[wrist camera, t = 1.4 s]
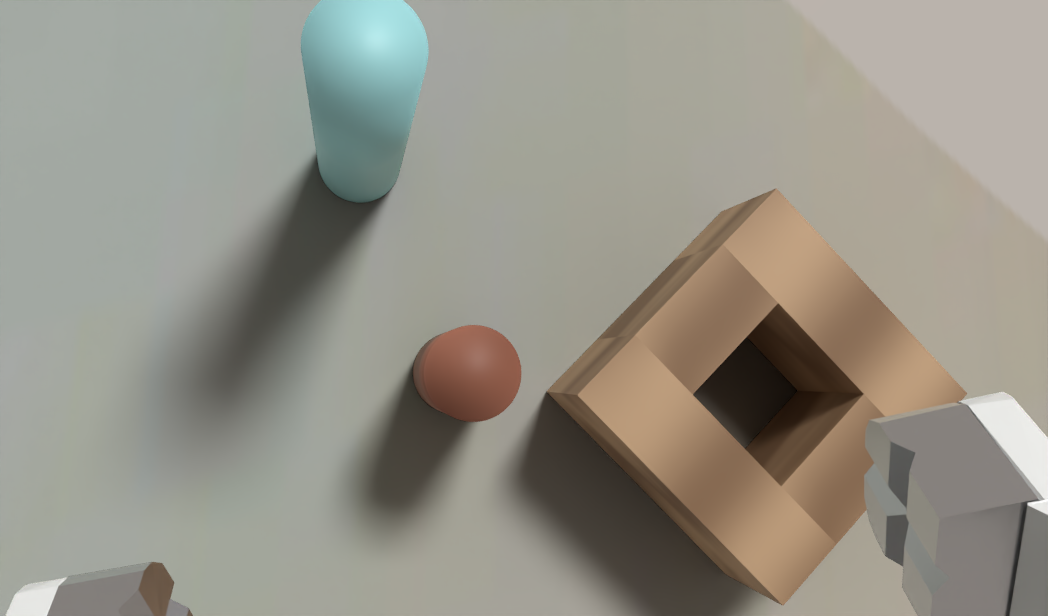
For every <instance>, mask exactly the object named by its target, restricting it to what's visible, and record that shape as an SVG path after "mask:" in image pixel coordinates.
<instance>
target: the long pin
mask: <svg viewBox="0 0 1048 616" xmlns="http://www.w3.org/2000/svg"><path fill="white" fill-rule="evenodd" d="M301 53H302V60H303V66H304V73H305V80H306V86H307V93H308V100H309V106H310V113H311V120H312V126H313V133H314V139H315V146H316V153H317V159H318V166H319V171H320V174H321V177H322V179H323V181H324V183H325V184H326V186H327V187H328V188H329V189H330V190H331V191H332V192H333V193H334V194H336V195H337V196H338V197H340V198H342V199H345V200H347V201H351V202H358V203H362V202H370V201H373V200H376V199H378V198H380V197H382V196H383V195H385V194H386V193H387V192H388V191H389V190H390V189H391V188H392V187H393V185H394V184H395V182H396V180H397V178H398V175H399V172H400V168H401V164H402V160H403V156H404V152H405V148H406V144H407V140H408V136H409V132H410V129H411V125H412V121H413V117H414V113H415V109H416V105H417V101H418V97H419V93H420V89H421V86H422V82H423V78H424V74H425V70H426V66H427V61H428V41H427V36H426V33H425V30H424V27H423V25H422V23H421V21H420V19H419V18H418V16H417V15H416V13H415V12H414V11H413V10H412V8H411V7H410V6H409V5H408V4H407V3H405V2H404V1H403V0H321V1H320V2H319V3H318V4H317V5H316V6H315V7H314V9H313V10H312V11H311V13H310V14H309V16H308V18H307V20H306V22H305V25H304V28H303V32H302V37H301Z"/></svg>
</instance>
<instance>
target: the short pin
mask: <svg viewBox="0 0 1048 616" xmlns="http://www.w3.org/2000/svg"><path fill="white" fill-rule="evenodd" d="M413 380H414V384H415V387H416V390H417V392H418V394H419V395H420V397H421V398H422V399H423V400H424V401H425V402H426V403H427V404H428V405H429V406H431V407H432V408H434V409H436V410H438V411H441V412H443V413H445V414H447V415H449V416H451V417H454V418H456V419H459V420H463V421H469V422H478V421H484V420H488V419H490V418H493V417H495V416H497V415H498V414H500V413H501V412H503V411H504V410H505V409H506V408H507V407H508V406H509V405H510V404H511V403H512V401H513V400H514V398H515V396H516V394H517V392H518V389H519V386H520V382H521V365H520V360H519V357H518V355H517V352H516V350H515V349H514V347H513V346H512V344H511V343H510V342H509V341H508V339H506V338H505V337H504V336H503V335H502V334H500V333H499V332H497V331H495V330H493V329H491V328H488V327H484V326H478V325H469V326H463V327H459V328H456V329H454V330H451V331H448V332H446V333H443V334H441V335H438V336H436V337H434V338H432V339H431V340H429V341H428V342H427V343H426V344H425V345H424V346H423V347H422V348H421V350H420V351H419V352H418V354H417V356H416V359H415V362H414V366H413Z"/></svg>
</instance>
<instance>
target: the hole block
mask: <svg viewBox="0 0 1048 616" xmlns="http://www.w3.org/2000/svg"><path fill="white" fill-rule="evenodd" d="M746 337H747V338H748V339H749V340H750V341H751V342H752V343H753V344H754V345H755V346H756V347H757V348H758V349H759V350H760V351H761V352H762V354H763V355H764V356H765V357H766V358H767V359H768V360H769V361H770V362H771V363H772V364H773V365H774V366H775V367H776V368H777V369H778V370H779V371H780V372H781V374H782V375H783V376H784V377H785V378H786V379H787V380H788V381H789V382H790V383H791V384H792V385H793V386H794V387H795V388H796V389H797V390H798V391H797V392H796V393H795V394H794V396H793V397H792V398H791V399H790V400H789V401H788V402H787V403H786V404H785V405H784V407H783V408H782V409H781V410H780V411H779V412H778V413H777V414H776V415H775V416H774V417H773V419H772V420H771V421H770V422H769V423H768V424H767V425H766V426H765V427H764V428H763V430H762V431H761V432H760V433H759V434H758V435H757V436H756V437H755V438H754V439H753V441H752V442H751V443H750V444H749V445H748V446H747V447H746V448H744V447H743V446H742V445H741V444H740V443H739V442H738V441H737V440H736V439H735V438H734V437H733V436H732V435H731V434H730V433H729V432H728V431H727V430H726V429H725V428H724V427H723V426H722V425H721V424H720V423H719V421H718V420H717V419H716V418H715V417H714V416H713V415H712V414H711V413H710V412H709V411H708V410H707V409H706V408H705V407H704V406H703V405H702V404H701V403H700V402H699V401H698V400H697V399H696V398H695V397H694V396H693V394H694V393H695V391H696V390H697V389H698V388H699V387H700V386H701V385H702V384H703V383H704V382H705V381H706V380H707V379H708V378H709V376H710V375H711V374H712V373H713V372H714V371H715V370H716V369H717V368H718V367H719V366H720V365H721V364H722V363H723V362H724V360H725V359H726V358H727V357H728V356H729V355H730V354H731V353H732V352H733V351H734V350H735V349H736V348H737V347H738V345H739V344H740V343H741V342H742V341H743V340H744V339H745V338H746ZM547 392H548V394H549V395H550V396H551V397H552V398H553V399H554V400H555V401H556V402H557V403H558V404H559V405H560V406H561V407H562V408H563V409H564V410H565V411H566V412H567V413H568V414H569V415H570V416H571V417H572V418H573V419H574V420H575V421H576V422H577V423H578V424H579V425H580V426H581V427H582V428H583V429H584V430H585V431H586V432H587V433H588V434H589V435H590V436H591V437H592V438H593V439H594V440H595V441H596V443H597V444H598V445H599V446H600V447H601V448H602V449H603V450H604V451H605V452H606V453H607V454H608V455H609V456H610V457H611V458H612V459H613V460H614V461H615V462H616V463H617V464H618V465H619V466H620V467H621V468H622V469H623V470H624V471H625V472H626V473H627V474H628V475H629V476H630V477H631V478H632V479H633V480H634V481H635V482H636V483H637V484H638V485H639V486H640V487H641V488H642V489H643V490H644V491H645V493H646V494H647V495H648V496H649V497H650V498H651V499H652V500H653V501H654V502H655V503H656V504H657V505H658V506H659V507H660V508H661V509H662V510H663V511H664V512H665V513H666V514H667V515H668V516H669V517H670V518H671V519H672V520H673V521H674V522H675V523H676V524H677V525H678V526H679V527H680V528H681V529H682V530H683V531H684V532H685V533H686V534H687V535H688V536H689V537H690V538H691V539H692V540H693V542H694V543H695V544H696V545H697V546H698V547H699V548H700V549H701V550H702V551H703V552H704V553H705V554H706V555H707V556H708V557H709V558H710V559H711V560H712V561H713V562H714V563H715V564H716V565H717V566H718V567H719V568H720V569H721V570H722V571H723V572H724V573H725V574H726V575H728V576H729V577H731V578H733V579H735V580H737V581H739V582H740V583H742V584H744V585H746V586H748V587H750V588H751V589H753V590H755V591H757V592H759V593H761V594H762V595H764V596H766V597H768V598H770V599H772V600H773V601H775V602H777V603H779V604H781V605H784V604H785V603H786V602H787V601H788V599H789V598H790V597H791V596H792V595H793V594H794V592H795V591H796V590H797V589H798V588H799V587H800V586H801V584H802V583H803V582H804V581H805V580H806V579H807V578H808V576H809V575H810V574H811V573H812V572H813V571H814V569H815V568H816V567H817V566H818V565H819V564H820V563H821V561H822V560H823V559H824V558H825V557H826V556H827V554H828V553H829V552H830V551H831V550H832V549H833V548H834V546H835V545H836V544H837V543H838V542H839V541H840V539H841V538H842V537H843V536H844V535H845V534H846V533H847V531H848V530H849V529H850V528H851V527H852V526H853V525H854V523H855V522H856V521H857V520H858V519H859V518H860V516H861V515H862V514H863V513H864V512H865V511H866V510H867V508H866V503H865V498H864V475H865V474H866V473H867V471H868V470H869V469H870V468H871V466H872V465H873V464H874V461H873V460H872V458H871V456H870V455H869V453H868V451H867V449H866V448H865V433H866V427H867V425H868V422H869V420H871V419H876V418H881V417H886V416H891V415H895V414H900V413H905V412H910V411H915V410H920V409H924V408H929V407H934V406H939V405H944V404H949V403H957V402H958V401H961V400H962V399H963V398H964V397H965V395H966V394H967V393H966V392H965V391H964V390H963V388H962V387H961V386H960V385H959V384H958V383H957V382H956V381H955V380H954V379H953V378H952V377H951V376H950V375H949V373H948V372H947V371H946V370H945V369H944V368H943V367H942V366H941V365H940V364H939V363H938V362H937V361H936V359H935V358H934V357H933V356H932V355H931V354H930V353H929V352H928V351H927V350H926V349H925V348H924V347H923V345H922V344H921V343H920V342H919V341H918V340H917V339H916V338H915V337H914V336H913V335H912V334H911V333H910V332H909V330H908V329H907V328H906V327H905V326H904V325H903V324H902V323H901V322H900V321H899V320H898V319H897V318H896V316H895V315H894V314H893V313H892V312H891V311H890V310H889V309H888V308H887V307H886V306H885V305H884V304H883V302H882V301H881V300H880V299H879V298H878V297H877V296H876V295H875V294H874V293H873V292H872V291H871V290H870V289H869V287H868V286H867V285H866V284H865V283H864V282H863V281H862V280H861V279H860V278H859V277H858V276H857V275H856V273H855V272H854V271H853V270H852V269H851V268H850V267H849V266H848V265H847V264H846V263H845V262H844V261H843V259H842V258H841V257H840V256H839V255H838V254H837V253H836V252H835V251H834V250H833V249H832V248H831V247H830V246H829V244H828V243H827V242H826V241H825V240H824V239H823V238H822V237H821V236H820V235H819V234H818V233H817V232H816V230H815V229H814V228H813V227H812V226H811V225H810V224H809V223H808V222H807V221H806V220H805V219H804V218H803V216H802V215H801V214H800V213H799V212H798V211H797V210H796V209H795V208H794V207H793V206H792V205H791V204H790V203H789V201H788V200H787V199H786V198H785V197H784V196H783V195H782V194H781V193H780V192H779V191H778V190H777V189H774V190H772V191H769V192H767V193H765V194H762V195H760V196H758V197H755V198H753V199H750V200H748V201H746V202H743V203H741V204H739V205H736V206H734V207H732V208H729V209H727V210H724V211H722V212H721V213H720V214H719V215H718V216H717V217H716V218H715V219H714V220H713V221H712V222H711V223H710V224H709V225H708V226H707V227H706V228H705V229H704V230H703V231H702V232H701V233H700V234H699V235H698V236H697V237H696V238H695V239H694V240H693V242H692V243H691V244H690V245H689V246H688V247H687V248H686V249H685V250H684V251H683V252H682V253H681V254H680V255H679V256H678V257H677V258H676V259H675V260H674V261H673V262H672V263H671V264H670V265H669V266H668V267H667V268H666V269H665V270H664V271H663V272H662V273H661V274H660V275H659V276H658V277H657V279H656V280H655V281H654V282H653V283H652V284H651V285H650V286H649V287H648V288H647V289H646V290H645V291H644V292H643V293H642V294H641V295H640V296H639V297H638V298H637V299H636V300H635V301H634V302H633V303H632V304H631V305H630V306H629V307H628V308H627V309H626V310H625V311H624V312H623V313H622V314H621V316H620V317H619V318H618V319H617V320H616V321H615V322H614V323H613V324H612V325H611V326H610V327H609V328H608V329H607V330H606V331H605V332H604V333H603V334H602V335H601V336H600V337H599V338H598V339H597V340H596V341H595V342H594V343H593V344H592V345H591V346H590V347H589V348H588V349H587V350H586V351H585V353H584V354H583V355H582V356H581V357H580V358H579V359H578V360H577V361H576V362H575V363H574V364H573V365H572V366H571V367H570V368H569V369H568V370H567V371H566V372H565V373H564V374H563V375H562V376H561V377H560V378H559V379H558V380H557V381H556V382H555V383H554V384H553V385H552V386H551V387H550V388H549V389H548V391H547Z"/></svg>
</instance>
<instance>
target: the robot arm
mask: <svg viewBox="0 0 1048 616" xmlns="http://www.w3.org/2000/svg"><path fill="white" fill-rule="evenodd" d="M865 448H866V449H867V451H868V453H869V455H870V456H871V458H872V460H873V461H874V464H873V465H872V466H871V468H870V469H869V470H868V471H867V473H866V474H865V475H864V498H865V503H866V508H867V513H868V517H869V522H870V524H871V527H872V529H873V532H874V535H875V537H876V539H877V541H878V543H879V545H880V547H881V549H882V551H883V553H884V555H885V556H886V557H888V558H889V559H891V560H893V561H894V562H896V563H898V564H900V565H901V566H903V581H902V588H903V590H904V592H905V594H906V595H907V597H908V599H909V601H910V603H911V604H912V606H913V608H914V610H915V612H916V613H917V615H918V616H1048V438H1047V436H1046V435H1045V434H1044V433H1043V432H1042V431H1041V430H1040V428H1039V427H1038V426H1037V425H1036V424H1035V423H1034V421H1033V420H1032V419H1031V418H1030V417H1029V416H1028V414H1027V413H1026V412H1025V411H1024V410H1023V409H1022V407H1021V406H1020V405H1019V404H1018V403H1017V402H1016V400H1015V399H1014V398H1013V397H1012V396H1010V395H1008V394H1006V393H1004V392H999V393H995V394H990V395H985V396H981V397H976V398H971V399H966V400H962V401H958V402H957V403H949V404H944V405H939V406H934V407H929V408H924V409H920V410H915V411H910V412H905V413H900V414H895V415H891V416H886V417H881V418H876V419H871V420H869V422H868V425H867V427H866V433H865ZM173 586H174V581H173V580H172V578H171V576H170V575H169V573H168V572H167V570H166V569H165V567H164V565H163V564H162V563H156V562H149V563H143V564H137V565H131V566H125V567H120V568H114V569H108V570H102V571H96V572H91V573H85V574H79V575H73V576H69V577H68V578H62V579H56V580H50V581H44V582H38V583H32V584H26V585H25V586H24V587H23V588H22V589H20V590H19V591H18V592H17V593H16V594H15V595H14V597H13V599H12V601H11V604H10V606H9V608H8V610H7V613H6V615H5V616H193V615H192V613H191V612H190V610H189V608H187V607H185V606H183V605H181V604H179V603H177V602H175V601H173V600H172V599H170V597H171V593H172V589H173Z"/></svg>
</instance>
